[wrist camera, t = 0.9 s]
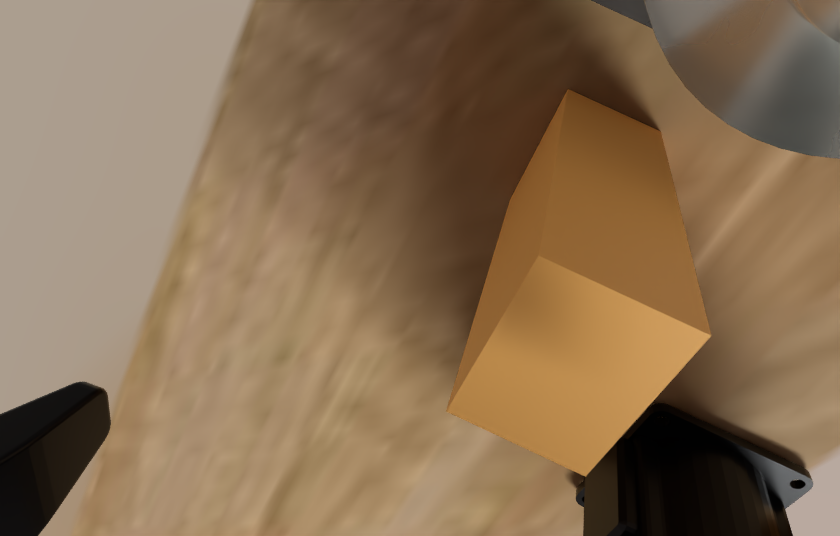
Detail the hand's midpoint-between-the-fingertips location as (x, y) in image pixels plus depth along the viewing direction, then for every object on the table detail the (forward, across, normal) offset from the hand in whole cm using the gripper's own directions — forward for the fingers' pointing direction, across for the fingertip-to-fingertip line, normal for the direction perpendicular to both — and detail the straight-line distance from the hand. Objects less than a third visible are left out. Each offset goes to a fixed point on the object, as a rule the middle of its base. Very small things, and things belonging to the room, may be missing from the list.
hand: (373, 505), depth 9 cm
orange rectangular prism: (+13, -2, -1) cm, 13 cm away
